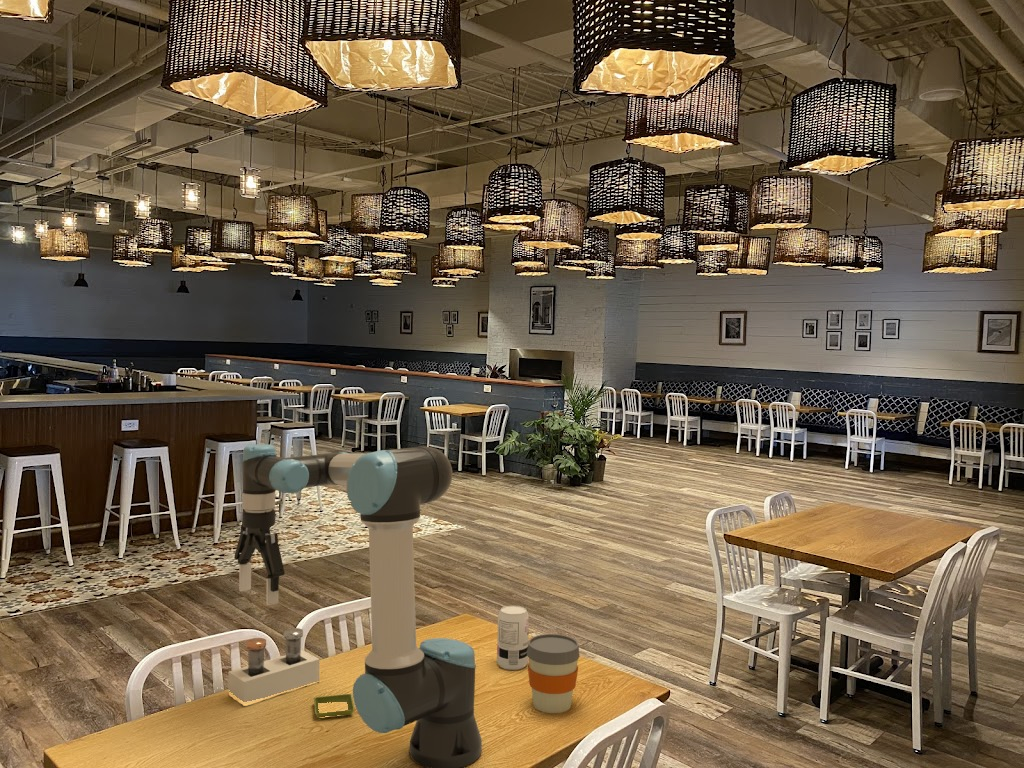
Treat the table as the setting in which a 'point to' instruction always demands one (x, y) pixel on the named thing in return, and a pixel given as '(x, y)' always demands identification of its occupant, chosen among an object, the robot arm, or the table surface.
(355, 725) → the table surface
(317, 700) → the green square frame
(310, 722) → the table surface
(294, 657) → the grey plug
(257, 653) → the terracotta plug
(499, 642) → the supplement can
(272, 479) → the robot arm
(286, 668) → the socket block
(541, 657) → the reusable coffee cup
